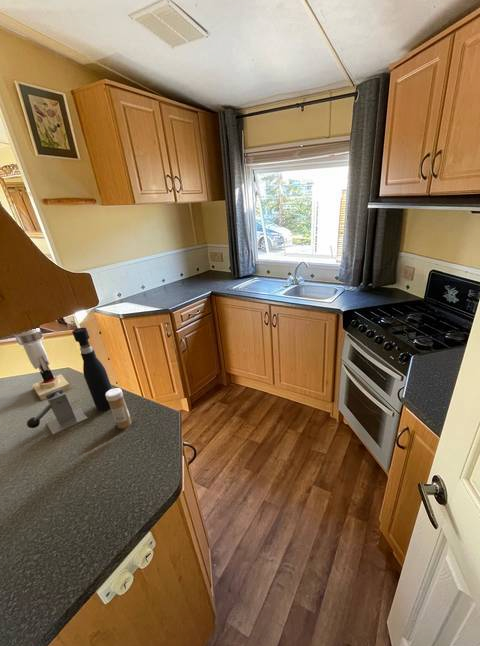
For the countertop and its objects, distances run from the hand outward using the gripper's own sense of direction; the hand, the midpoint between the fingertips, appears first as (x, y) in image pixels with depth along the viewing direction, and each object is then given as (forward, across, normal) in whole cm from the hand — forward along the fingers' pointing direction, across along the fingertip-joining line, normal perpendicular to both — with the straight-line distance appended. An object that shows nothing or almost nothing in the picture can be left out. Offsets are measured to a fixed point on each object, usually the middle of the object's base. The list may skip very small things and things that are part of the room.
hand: (48, 379), depth 114 cm
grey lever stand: (+4, +29, -2) cm, 30 cm away
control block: (+4, 0, 0) cm, 4 cm away
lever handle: (-2, +29, -5) cm, 30 cm away
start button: (+2, 0, 0) cm, 2 cm away
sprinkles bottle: (+5, +46, +10) cm, 47 cm away
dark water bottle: (+5, +31, +10) cm, 33 cm away
